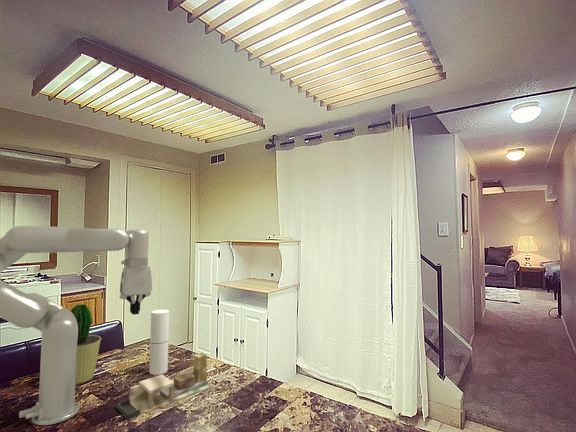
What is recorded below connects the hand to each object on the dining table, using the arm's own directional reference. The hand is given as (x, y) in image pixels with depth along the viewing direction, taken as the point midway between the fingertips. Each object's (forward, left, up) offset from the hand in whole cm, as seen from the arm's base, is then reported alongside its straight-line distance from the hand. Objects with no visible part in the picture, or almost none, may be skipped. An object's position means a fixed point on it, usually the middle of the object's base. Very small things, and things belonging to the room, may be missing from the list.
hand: (134, 313), depth 121 cm
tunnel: (+7, -10, -29) cm, 32 cm away
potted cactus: (-10, +30, -29) cm, 43 cm away
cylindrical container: (+16, +14, -29) cm, 36 cm away
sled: (+15, -10, -28) cm, 34 cm away
